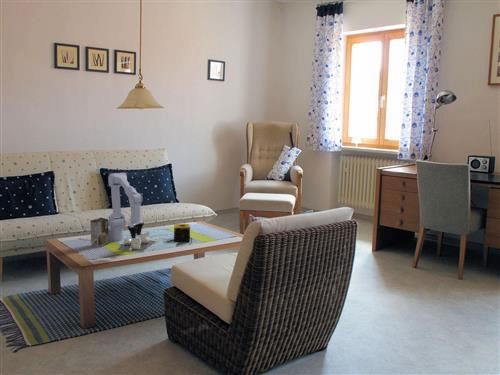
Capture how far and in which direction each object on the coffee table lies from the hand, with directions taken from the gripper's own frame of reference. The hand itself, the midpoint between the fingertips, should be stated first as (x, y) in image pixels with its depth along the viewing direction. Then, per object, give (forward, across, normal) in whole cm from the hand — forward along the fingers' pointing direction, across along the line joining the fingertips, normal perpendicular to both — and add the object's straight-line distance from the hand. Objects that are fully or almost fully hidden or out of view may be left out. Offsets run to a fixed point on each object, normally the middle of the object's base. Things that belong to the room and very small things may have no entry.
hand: (136, 236), depth 300 cm
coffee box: (+9, +6, +26) cm, 28 cm away
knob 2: (+7, +14, 0) cm, 16 cm away
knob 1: (+7, 0, 0) cm, 7 cm away
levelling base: (+9, +7, +2) cm, 11 cm away
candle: (+9, +30, -19) cm, 37 cm away
